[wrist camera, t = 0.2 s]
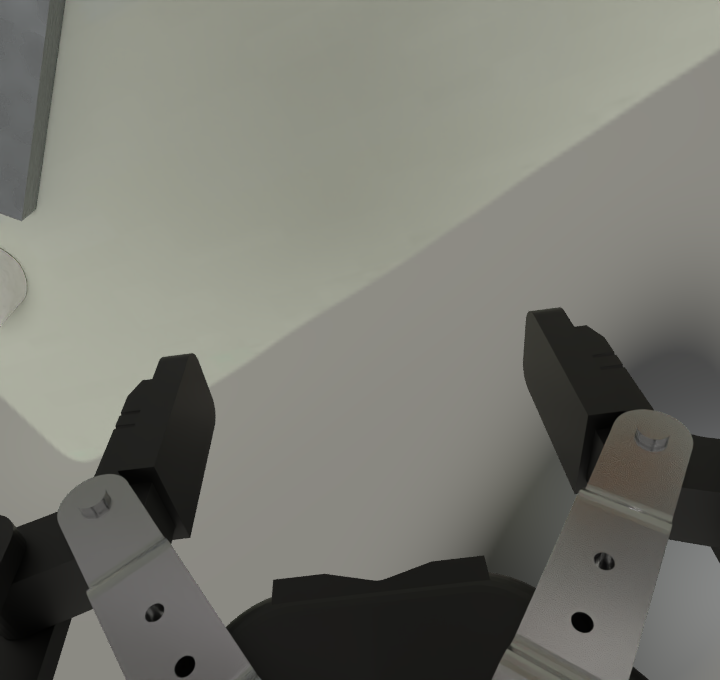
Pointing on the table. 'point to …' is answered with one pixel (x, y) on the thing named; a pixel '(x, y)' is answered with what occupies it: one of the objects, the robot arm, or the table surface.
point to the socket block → (25, 97)
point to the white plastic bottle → (10, 285)
